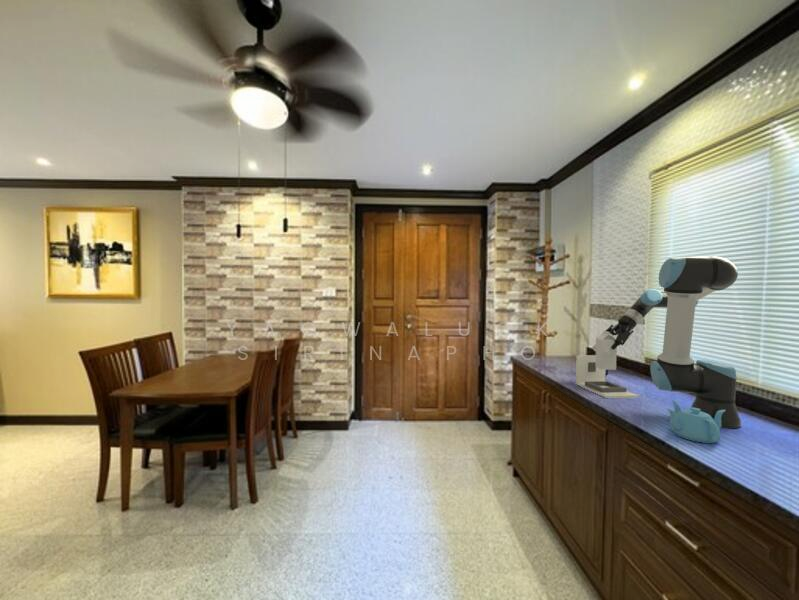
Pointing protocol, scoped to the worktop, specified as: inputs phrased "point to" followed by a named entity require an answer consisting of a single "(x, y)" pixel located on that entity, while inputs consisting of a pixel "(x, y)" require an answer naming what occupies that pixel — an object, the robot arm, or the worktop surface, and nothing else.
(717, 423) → the teapot
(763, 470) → the worktop surface
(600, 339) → the milk carton
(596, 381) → the dock
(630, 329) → the robot arm
